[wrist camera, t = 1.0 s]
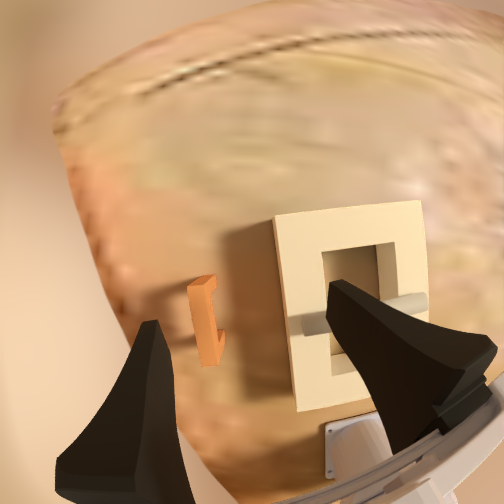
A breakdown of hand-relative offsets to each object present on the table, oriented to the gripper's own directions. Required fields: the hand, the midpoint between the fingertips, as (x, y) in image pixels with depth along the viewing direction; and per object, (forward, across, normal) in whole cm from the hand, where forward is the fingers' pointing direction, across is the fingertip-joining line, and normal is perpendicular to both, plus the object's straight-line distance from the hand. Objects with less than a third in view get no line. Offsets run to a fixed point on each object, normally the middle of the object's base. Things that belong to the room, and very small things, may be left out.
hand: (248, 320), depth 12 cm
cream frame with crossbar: (+8, -11, +9) cm, 16 cm away
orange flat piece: (+11, +1, +8) cm, 14 cm away
